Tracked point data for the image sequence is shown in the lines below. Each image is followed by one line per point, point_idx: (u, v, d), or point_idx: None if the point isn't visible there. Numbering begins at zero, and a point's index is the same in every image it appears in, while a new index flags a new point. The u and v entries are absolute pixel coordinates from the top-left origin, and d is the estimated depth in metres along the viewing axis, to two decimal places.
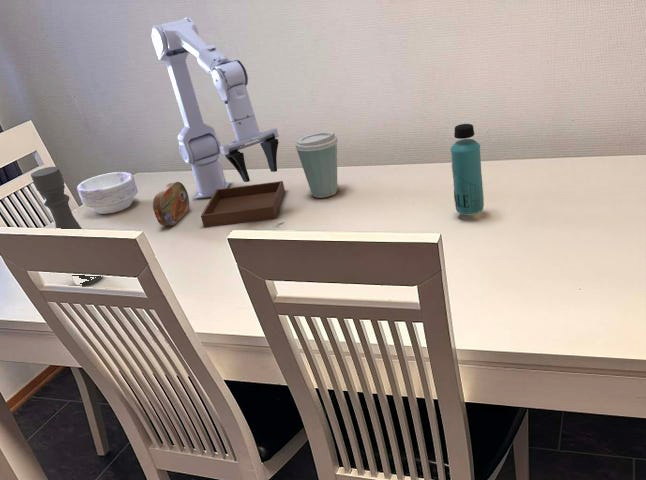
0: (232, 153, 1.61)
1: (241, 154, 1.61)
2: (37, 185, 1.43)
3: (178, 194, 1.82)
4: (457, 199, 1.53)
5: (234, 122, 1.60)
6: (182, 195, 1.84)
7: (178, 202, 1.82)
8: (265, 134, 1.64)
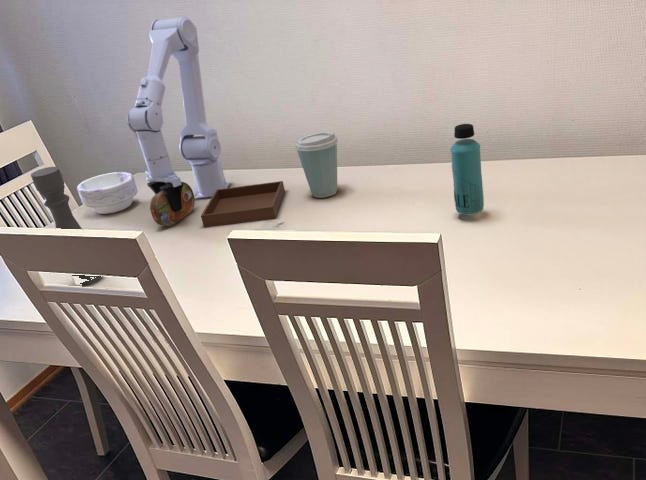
0: (152, 180, 1.79)
1: (150, 186, 1.78)
2: (37, 185, 1.43)
3: (181, 194, 1.81)
4: (457, 199, 1.53)
5: None
6: (186, 195, 1.83)
7: None
8: (162, 180, 1.73)
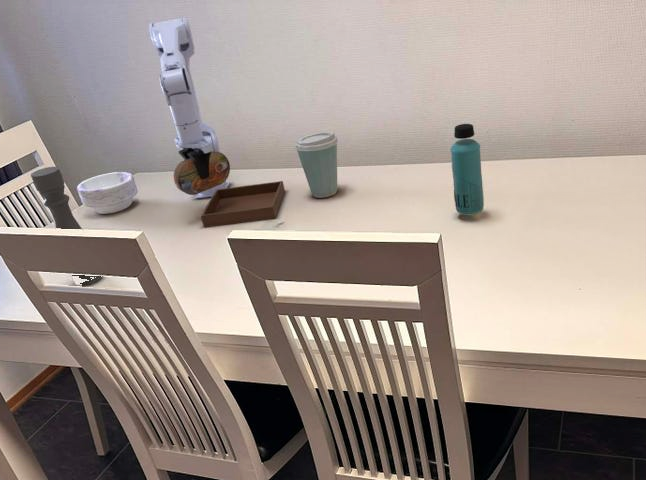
0: (184, 148, 1.74)
1: (181, 153, 1.73)
2: (37, 185, 1.43)
3: (214, 164, 1.76)
4: (457, 199, 1.53)
5: None
6: (220, 166, 1.78)
7: (211, 172, 1.77)
8: (192, 146, 1.68)
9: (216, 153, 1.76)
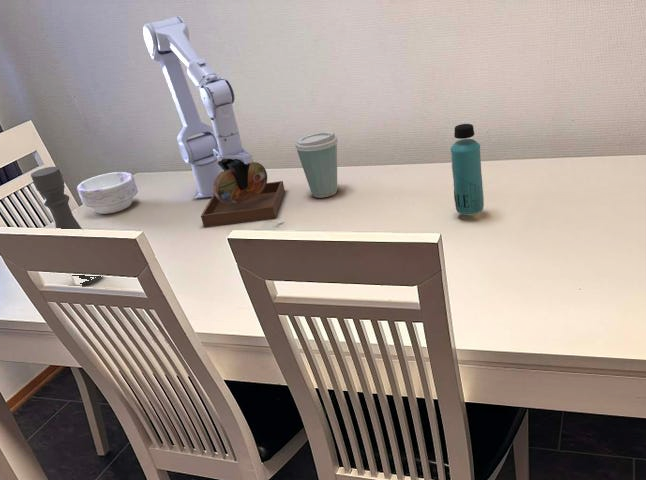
0: (223, 159, 1.76)
1: (221, 164, 1.74)
2: (37, 185, 1.43)
3: (252, 174, 1.78)
4: (457, 199, 1.53)
5: None
6: (258, 176, 1.79)
7: (249, 182, 1.78)
8: (232, 157, 1.70)
9: (254, 163, 1.77)
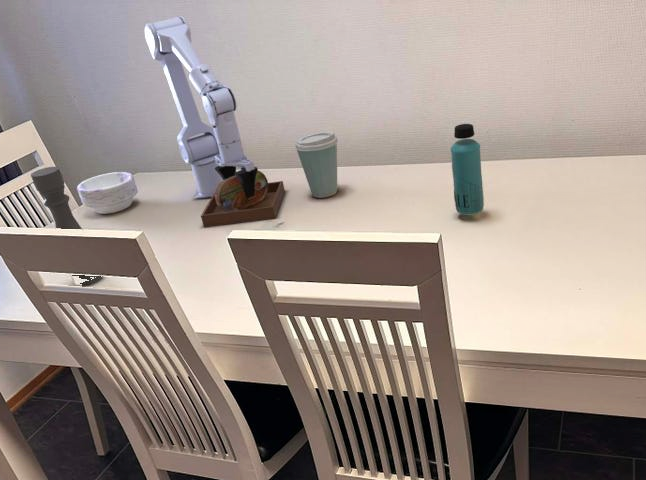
0: None
1: (217, 170, 1.77)
2: (37, 185, 1.43)
3: None
4: (457, 199, 1.53)
5: None
6: (259, 184, 1.81)
7: None
8: (234, 164, 1.71)
9: None
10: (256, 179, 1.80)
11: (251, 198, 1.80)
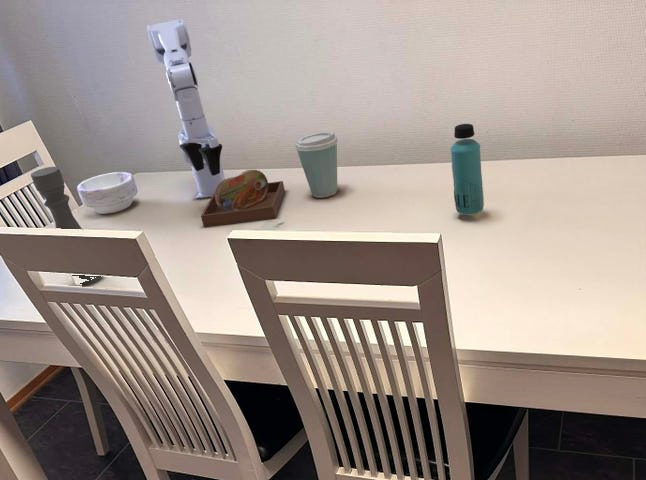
0: None
1: (182, 147, 1.75)
2: (37, 185, 1.43)
3: (253, 182, 1.79)
4: (457, 199, 1.53)
5: None
6: (259, 184, 1.81)
7: (250, 190, 1.80)
8: (198, 141, 1.69)
9: (254, 171, 1.79)
10: (256, 179, 1.80)
11: (251, 198, 1.80)
